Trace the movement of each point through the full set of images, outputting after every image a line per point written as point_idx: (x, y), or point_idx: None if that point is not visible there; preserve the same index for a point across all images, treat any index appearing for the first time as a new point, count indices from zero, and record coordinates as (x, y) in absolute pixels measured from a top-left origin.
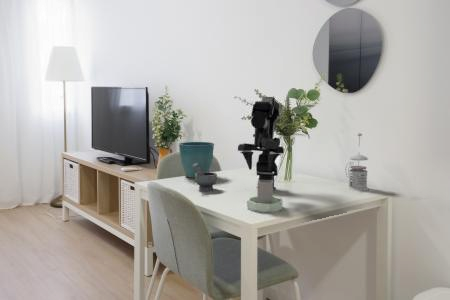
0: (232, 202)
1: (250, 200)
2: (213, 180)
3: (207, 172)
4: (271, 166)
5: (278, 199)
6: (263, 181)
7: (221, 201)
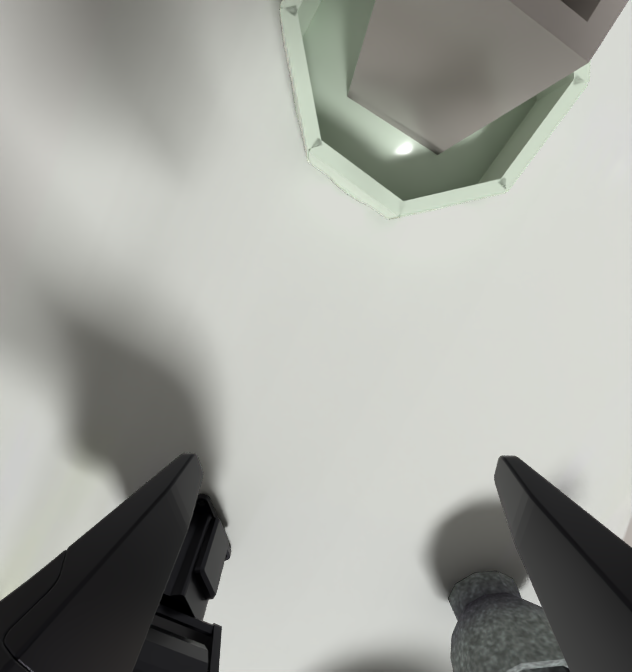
0: (524, 305)
1: (496, 172)
2: (499, 624)
3: None
4: (152, 494)
5: (304, 57)
6: (525, 1)
7: (565, 349)
